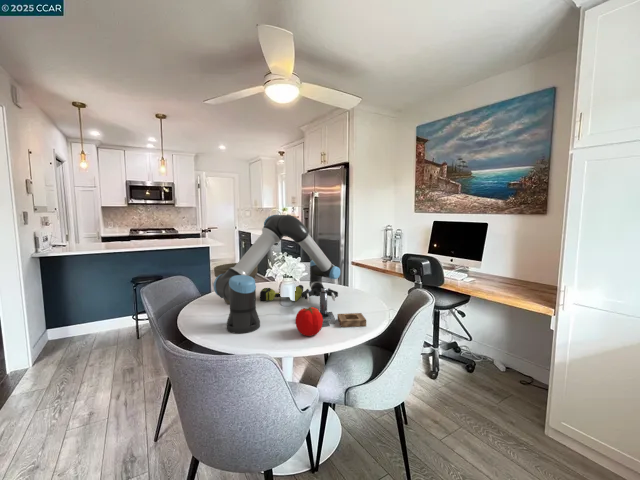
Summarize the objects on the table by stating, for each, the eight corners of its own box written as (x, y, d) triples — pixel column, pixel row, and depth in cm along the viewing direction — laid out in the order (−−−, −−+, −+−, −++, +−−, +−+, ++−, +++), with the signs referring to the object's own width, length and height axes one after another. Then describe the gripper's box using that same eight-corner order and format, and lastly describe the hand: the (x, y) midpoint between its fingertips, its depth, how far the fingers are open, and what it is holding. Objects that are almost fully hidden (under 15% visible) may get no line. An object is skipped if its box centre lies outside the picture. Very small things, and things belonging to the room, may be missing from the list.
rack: (340, 327, 138) (341, 321, 137) (337, 319, 148) (337, 313, 147) (366, 326, 139) (366, 320, 139) (361, 318, 149) (361, 313, 149)
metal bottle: (320, 321, 145) (320, 289, 143) (319, 319, 148) (319, 287, 147) (327, 321, 145) (327, 289, 144) (326, 318, 149) (326, 287, 147)
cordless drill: (270, 290, 203) (306, 292, 200) (258, 302, 178) (299, 304, 175) (269, 280, 202) (306, 281, 199) (258, 291, 177) (299, 292, 175)
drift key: (313, 328, 136) (313, 326, 136) (312, 327, 138) (312, 325, 138) (329, 326, 139) (329, 324, 139) (328, 324, 141) (328, 323, 141)
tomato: (290, 337, 126) (290, 310, 125) (301, 326, 139) (301, 302, 138) (318, 340, 123) (318, 313, 122) (326, 329, 136) (326, 304, 135)
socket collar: (314, 324, 141) (314, 319, 141) (312, 317, 151) (312, 312, 151) (335, 323, 142) (335, 318, 142) (332, 316, 152) (332, 311, 152)
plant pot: (212, 309, 164) (211, 270, 162) (217, 297, 187) (216, 263, 186) (258, 306, 169) (258, 268, 168) (257, 294, 193) (257, 261, 191)
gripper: (338, 294, 178) (344, 304, 157) (296, 295, 176) (297, 306, 155) (338, 281, 178) (344, 291, 157) (296, 283, 175) (297, 292, 154)
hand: (321, 298), depth 156 cm, fingers open, 13 cm apart
